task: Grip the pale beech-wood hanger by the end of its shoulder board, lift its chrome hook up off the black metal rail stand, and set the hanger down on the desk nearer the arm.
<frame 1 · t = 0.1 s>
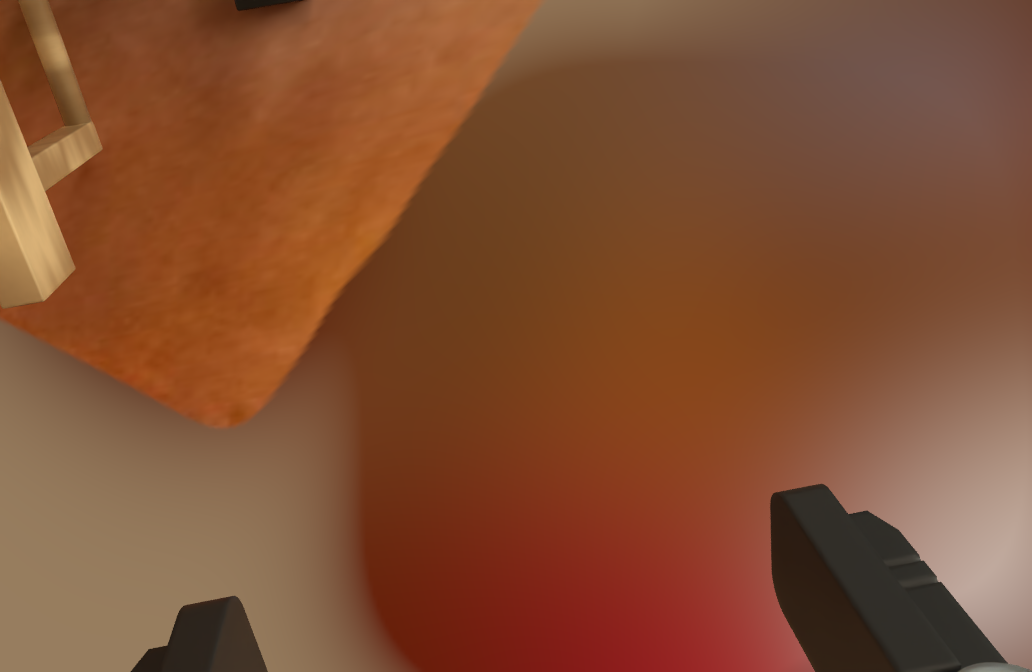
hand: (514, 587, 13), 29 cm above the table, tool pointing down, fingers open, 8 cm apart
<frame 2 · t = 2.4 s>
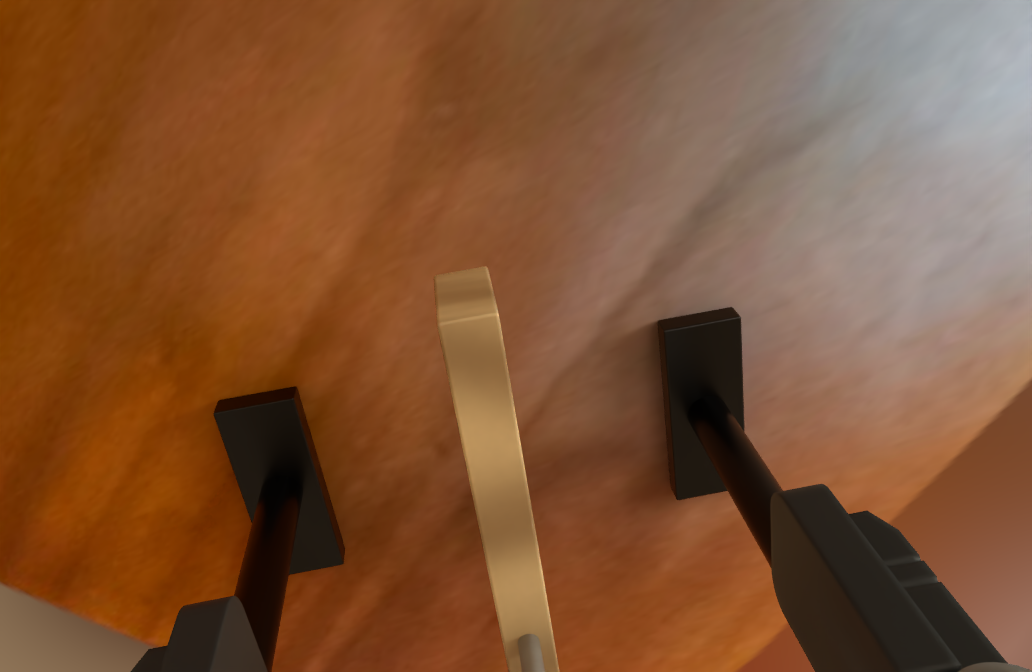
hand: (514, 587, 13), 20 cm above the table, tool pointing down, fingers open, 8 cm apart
hanger: (499, 467, 33), point 2 cm above the table, touching rail stand
rail stand: (494, 439, 35), on the table
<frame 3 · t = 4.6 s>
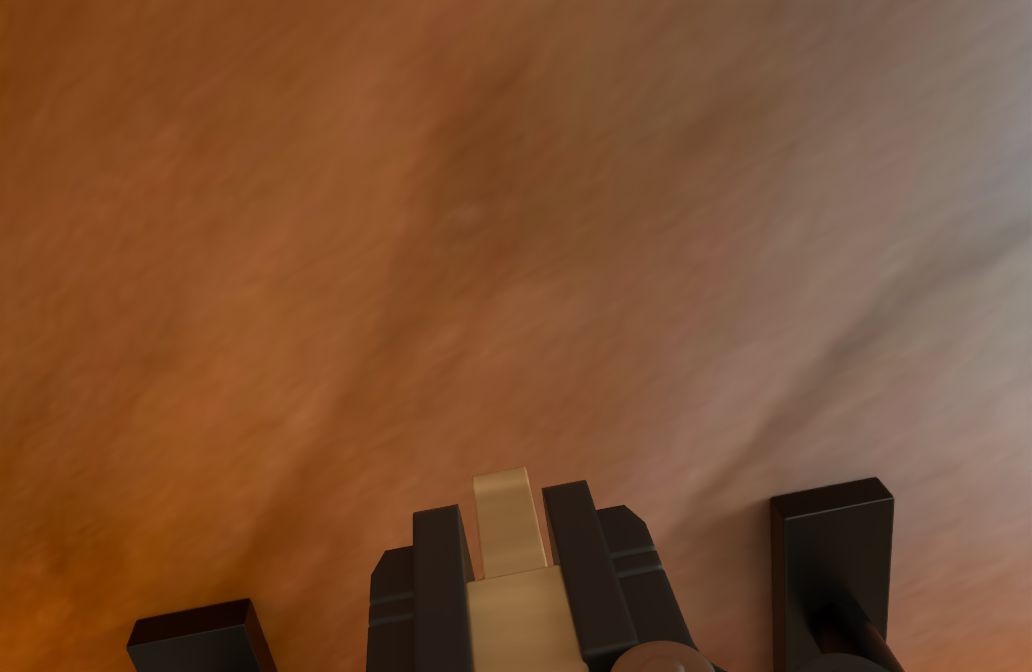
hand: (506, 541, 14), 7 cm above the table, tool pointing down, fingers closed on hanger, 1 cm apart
rail stand: (533, 655, 25), on the table
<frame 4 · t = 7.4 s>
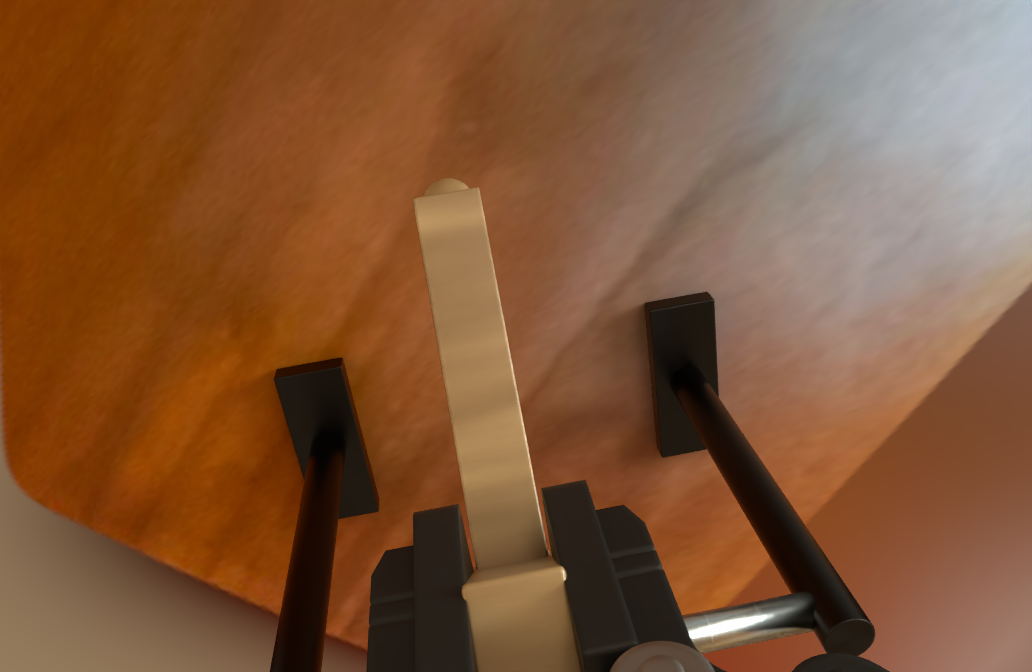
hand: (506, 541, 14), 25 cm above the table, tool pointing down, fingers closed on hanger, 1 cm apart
hanger: (465, 284, 23), point 14 cm above the table, tilted 53°, touching gripper
rail stand: (507, 404, 41), on the table
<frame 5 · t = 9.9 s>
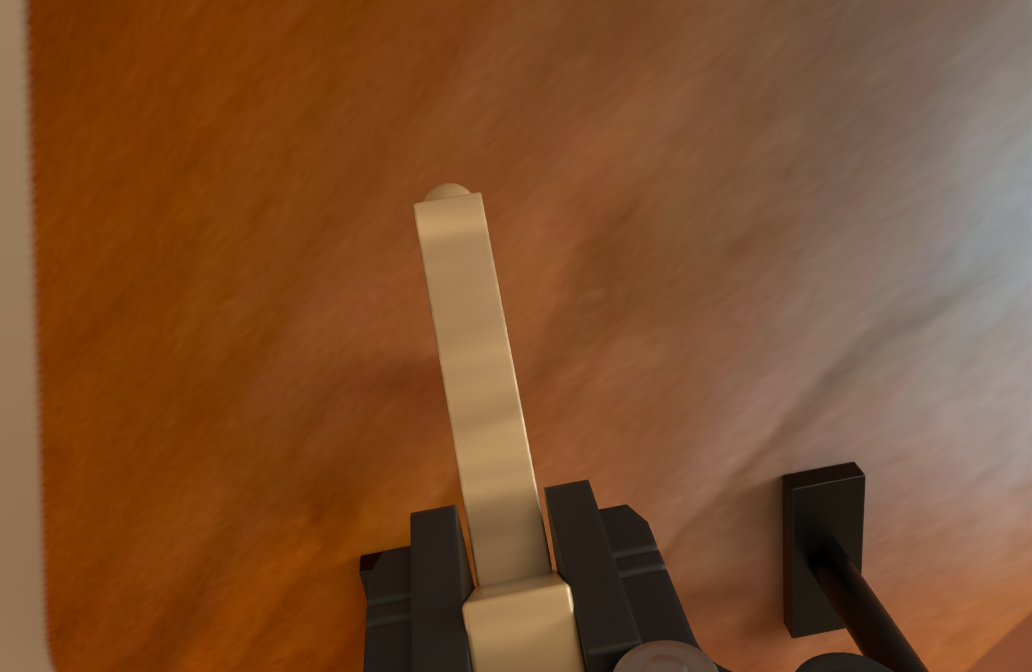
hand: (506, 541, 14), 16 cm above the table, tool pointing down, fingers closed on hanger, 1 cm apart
hanger: (467, 293, 23), point 6 cm above the table, tilted 52°, touching gripper
rail stand: (619, 584, 36), on the table
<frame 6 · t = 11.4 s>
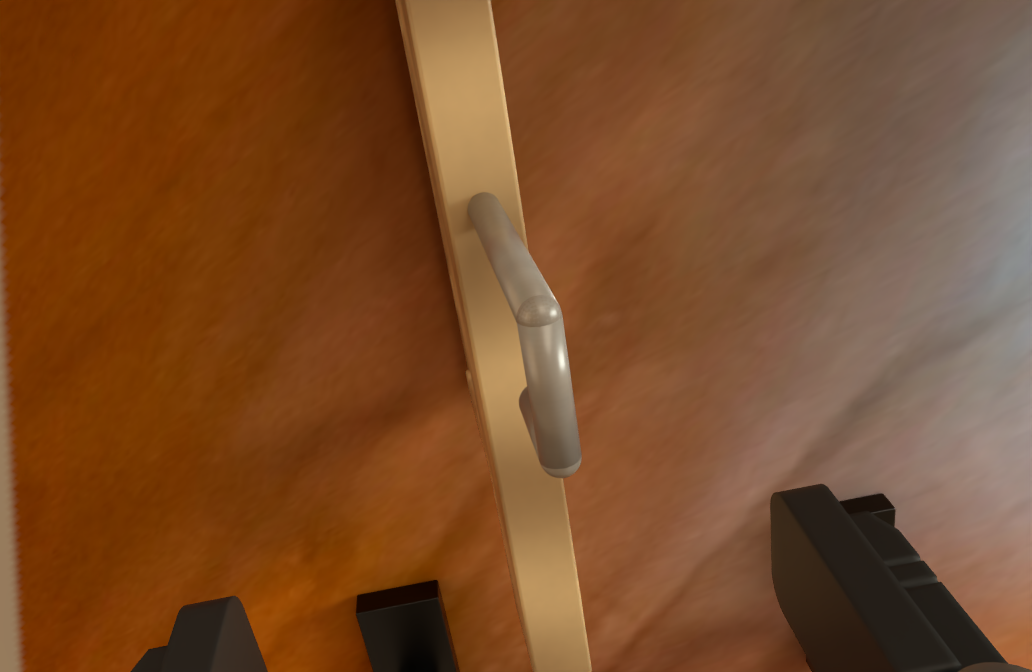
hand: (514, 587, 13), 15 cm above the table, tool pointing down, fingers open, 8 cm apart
hanger: (441, 147, 25), on the table
rail stand: (632, 622, 34), on the table
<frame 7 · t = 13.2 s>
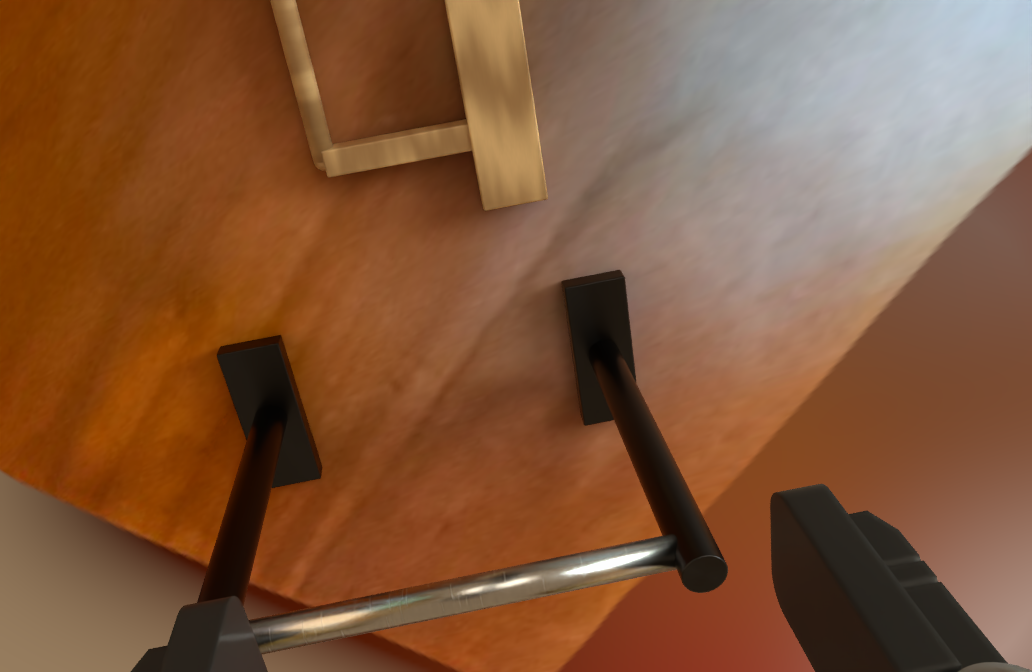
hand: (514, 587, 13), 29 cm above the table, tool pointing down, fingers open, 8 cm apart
rail stand: (437, 377, 44), on the table
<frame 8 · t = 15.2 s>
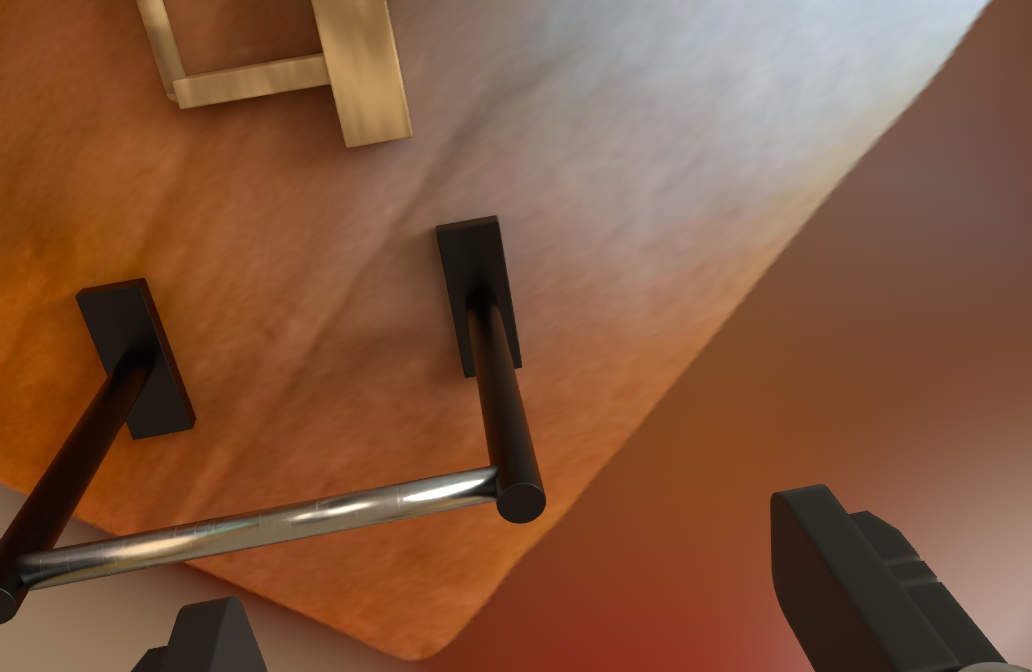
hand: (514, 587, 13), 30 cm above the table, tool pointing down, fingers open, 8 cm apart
rail stand: (312, 325, 43), on the table
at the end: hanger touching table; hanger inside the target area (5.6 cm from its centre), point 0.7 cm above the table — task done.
